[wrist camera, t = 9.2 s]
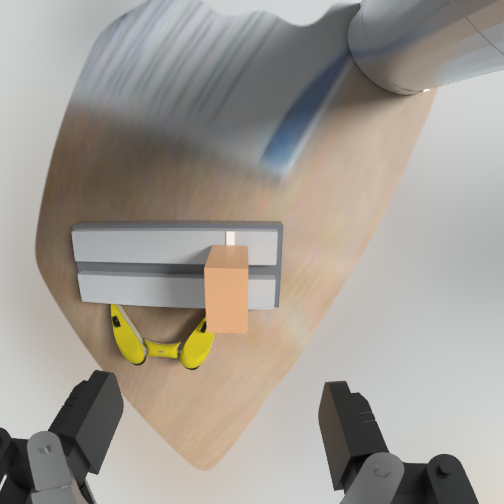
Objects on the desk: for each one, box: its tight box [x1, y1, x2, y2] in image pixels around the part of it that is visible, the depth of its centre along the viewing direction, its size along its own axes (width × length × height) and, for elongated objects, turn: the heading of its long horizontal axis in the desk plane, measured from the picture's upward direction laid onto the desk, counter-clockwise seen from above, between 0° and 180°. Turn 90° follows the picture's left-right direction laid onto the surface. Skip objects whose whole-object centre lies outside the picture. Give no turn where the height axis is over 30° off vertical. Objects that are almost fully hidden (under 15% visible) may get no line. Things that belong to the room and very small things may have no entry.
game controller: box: [111, 304, 215, 370], centre depth 27 cm, size 10×6×4 cm, turn 89°
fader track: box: [71, 221, 283, 309], centre depth 25 cm, size 18×7×3 cm, turn 89°
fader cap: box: [204, 245, 248, 333], centre depth 22 cm, size 3×4×6 cm, turn 179°
